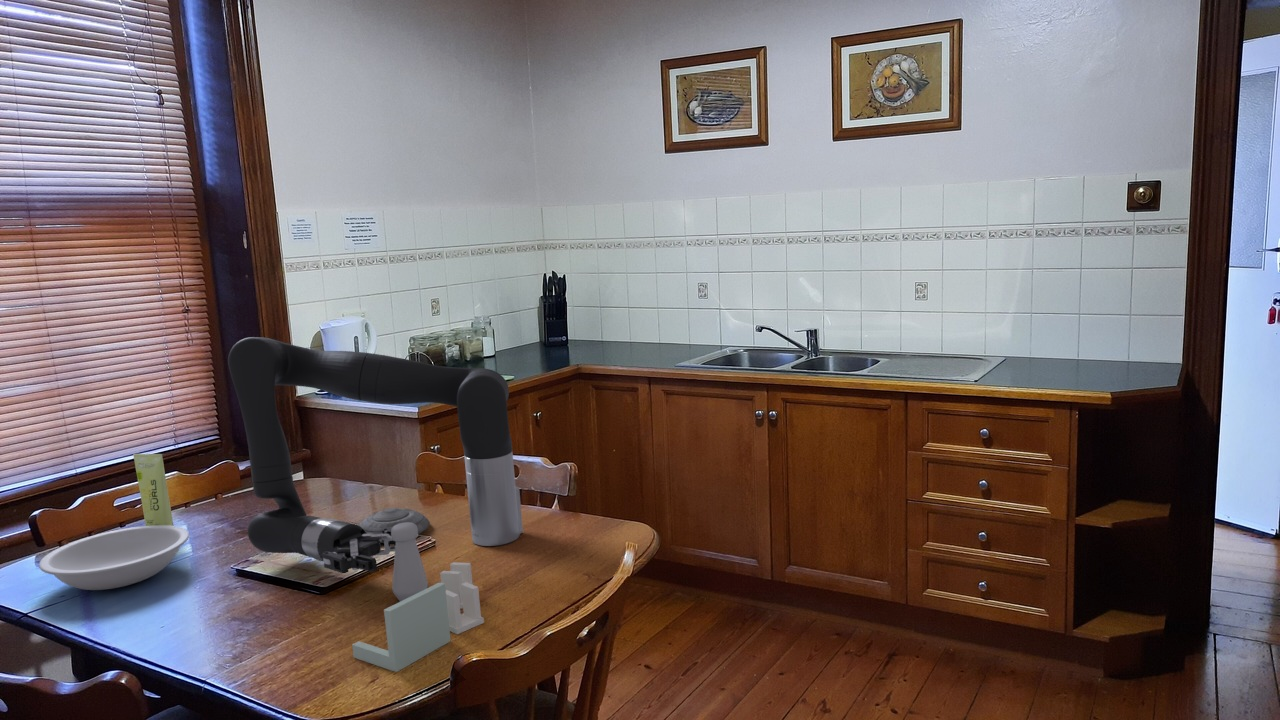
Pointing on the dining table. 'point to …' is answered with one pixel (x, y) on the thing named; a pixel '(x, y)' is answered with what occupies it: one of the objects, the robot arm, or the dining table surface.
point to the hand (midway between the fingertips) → (395, 556)
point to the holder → (410, 630)
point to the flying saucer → (393, 520)
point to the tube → (153, 489)
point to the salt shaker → (407, 562)
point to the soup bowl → (115, 557)
